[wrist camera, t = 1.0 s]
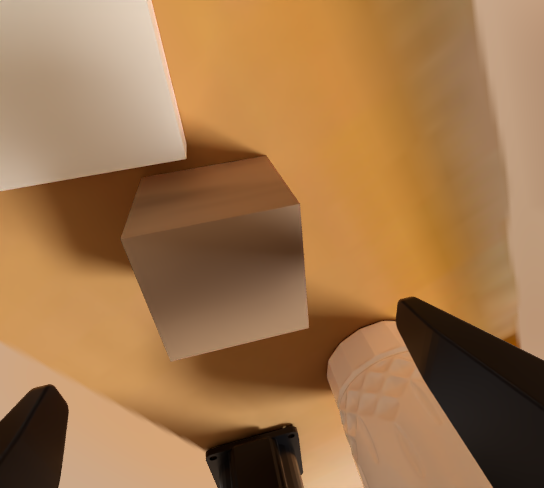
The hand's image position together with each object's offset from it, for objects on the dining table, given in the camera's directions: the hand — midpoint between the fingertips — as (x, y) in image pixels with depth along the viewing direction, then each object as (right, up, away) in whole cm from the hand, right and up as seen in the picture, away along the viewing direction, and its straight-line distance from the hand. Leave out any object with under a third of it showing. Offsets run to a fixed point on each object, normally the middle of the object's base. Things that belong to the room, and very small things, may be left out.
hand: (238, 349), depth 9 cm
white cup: (+8, -5, +14) cm, 16 cm away
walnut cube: (-2, +4, +6) cm, 7 cm away
